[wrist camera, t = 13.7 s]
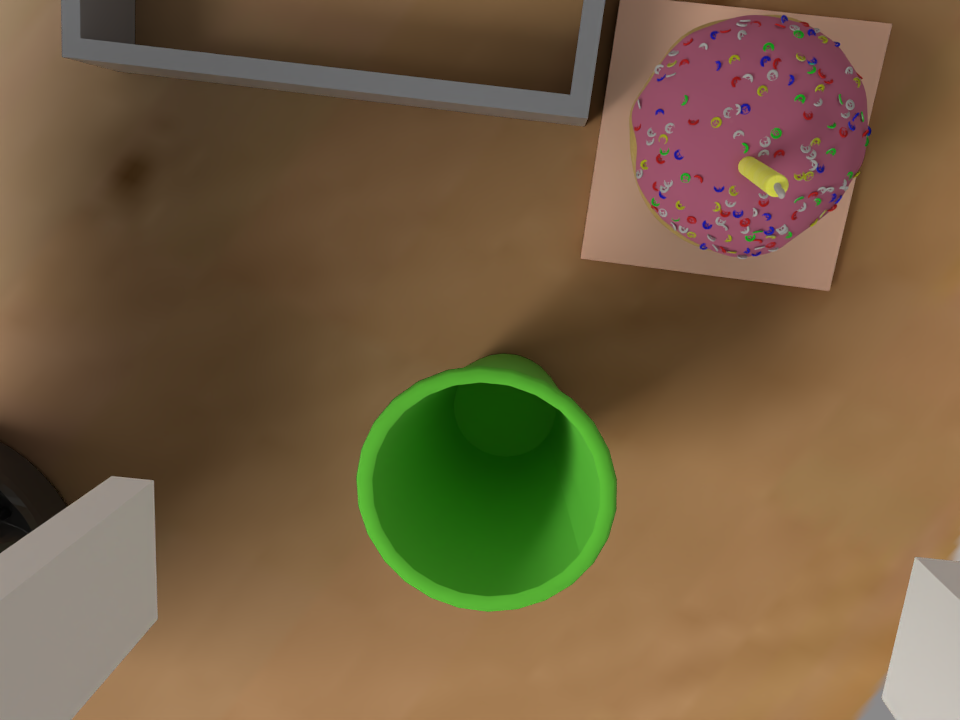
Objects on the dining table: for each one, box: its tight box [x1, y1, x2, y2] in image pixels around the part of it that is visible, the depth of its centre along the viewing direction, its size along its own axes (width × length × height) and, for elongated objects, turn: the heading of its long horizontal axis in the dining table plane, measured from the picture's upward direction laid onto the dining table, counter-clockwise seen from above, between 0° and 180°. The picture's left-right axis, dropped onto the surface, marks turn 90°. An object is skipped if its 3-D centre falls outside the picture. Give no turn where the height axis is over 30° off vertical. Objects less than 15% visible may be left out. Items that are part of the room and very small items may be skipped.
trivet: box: [580, 0, 892, 291], centre depth 32 cm, size 11×11×1 cm
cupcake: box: [629, 15, 871, 259], centre depth 26 cm, size 9×8×12 cm
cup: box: [356, 353, 617, 612], centre depth 31 cm, size 9×9×11 cm
